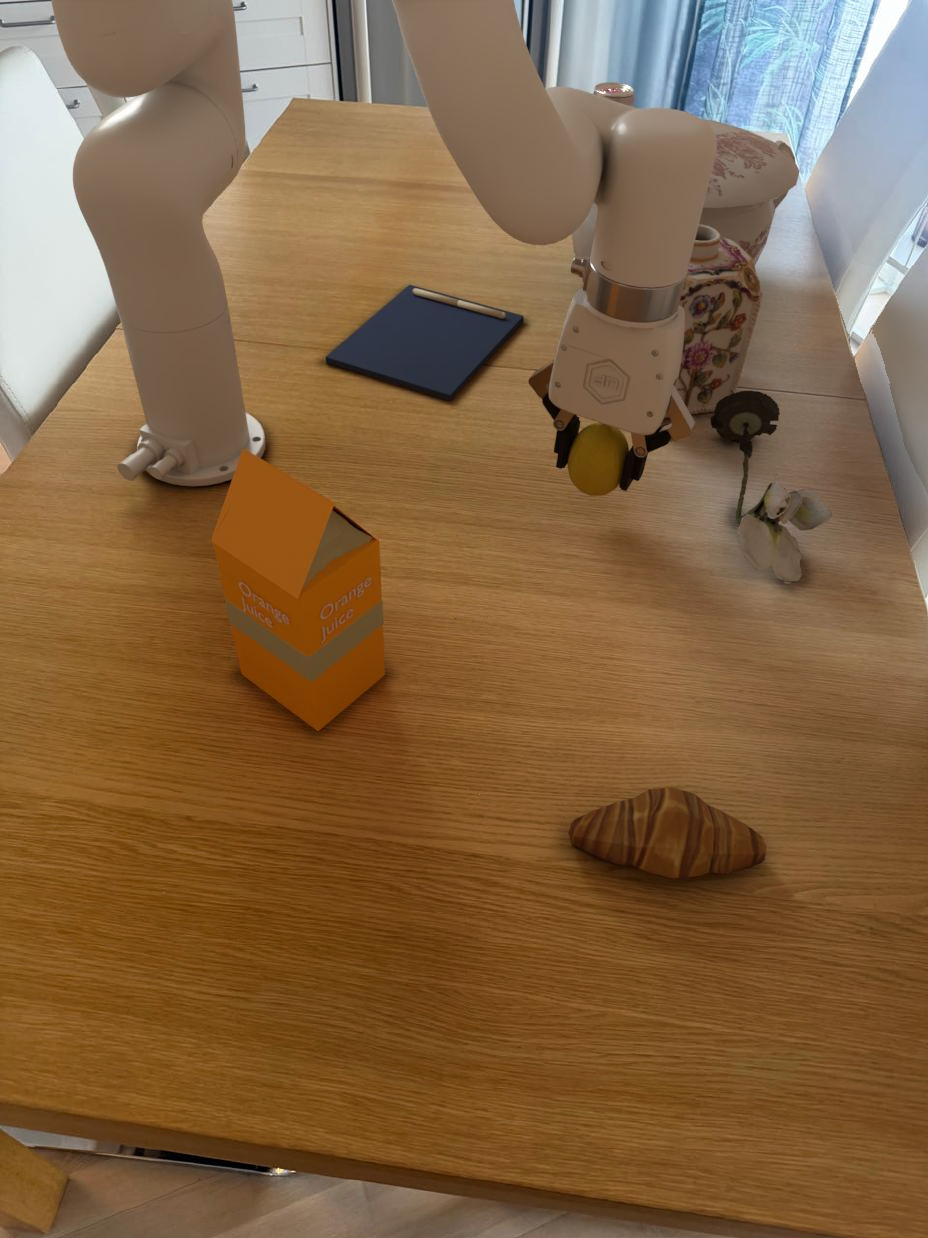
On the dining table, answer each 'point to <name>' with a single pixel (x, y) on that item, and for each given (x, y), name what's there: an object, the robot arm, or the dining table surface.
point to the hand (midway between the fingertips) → (596, 469)
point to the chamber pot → (733, 190)
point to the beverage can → (616, 92)
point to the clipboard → (426, 341)
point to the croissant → (668, 835)
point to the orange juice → (299, 592)
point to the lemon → (597, 459)
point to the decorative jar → (716, 319)
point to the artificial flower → (767, 490)
